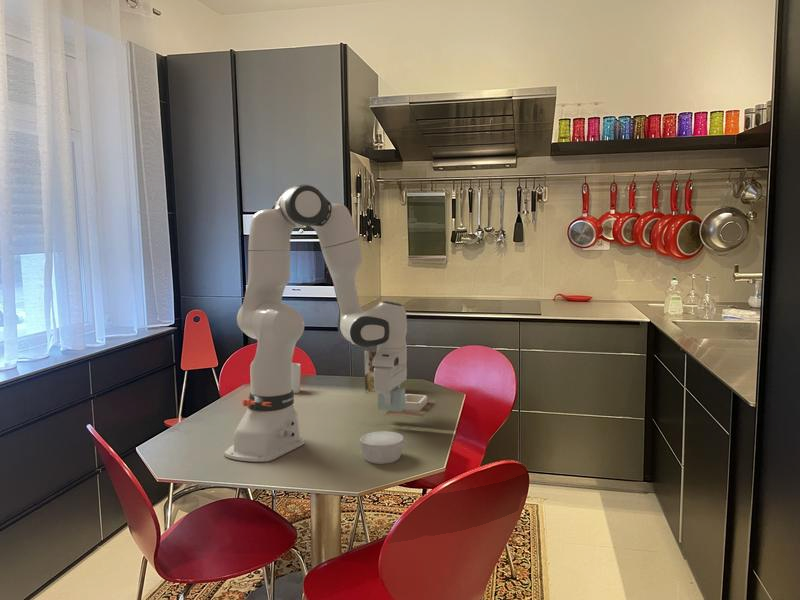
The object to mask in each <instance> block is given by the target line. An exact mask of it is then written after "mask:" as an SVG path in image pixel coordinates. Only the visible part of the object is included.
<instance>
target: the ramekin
mask: <svg viewBox="0 0 800 600" xmlns="http://www.w3.org/2000/svg"><path fill="white" fill-rule="evenodd" d="M404 442H405V438H404V436H403V435H402V434H400V433H399V432H394V431H386V430H384V431H371V432H368V433H365V434H363V435H362V436H361V437H360V438H359V444H360V447H361V452H362V456H363V458H364V460H365V461H366V462H368V463H370V464H375V465H377V464H379V465H385V464H391V463H395V462H396V461H398V460H399V459H400V458H401V456H402V450H403V445H404Z"/></svg>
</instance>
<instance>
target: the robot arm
mask: <svg viewBox="0 0 800 600" xmlns="http://www.w3.org/2000/svg"><path fill="white" fill-rule="evenodd" d="M296 227H301V228H303V227H311V228H312V229H313V230H314V232H315V233H316V235H317V237H318V240H319V241H318V242H319V245H320V249H321V252H322V256H323V258H324V262H325V264H326V267H327V269H328V272H329V275H330V277H331V279H332V284H333V288H334V292H335V298H336V301H337V305H338V319H337V332H338V335H339V336H340V337H341V338H342V339H343V340H344V341H346V342H348V343H351V344H353V345H355V346H357V347H360V348H370V347H371V348H372V347H374V346H376V348H377V351H376V355H375V357H374V358H373V360H372V365H373V366H375V368H374V388H375V391H376V393H375V394H377V395H378V394H383V395H384V398H385V404H386V405H390V404H391V403H392V398H391V390H393V389H394V388H395V387H397V388H401V384H402V383H403V382H405V381H407V377H408V370H407V369H408V367H407V360H408V359H407V358H408V357H407V355H408V353H407V352H408V351H407V350H408V348H407V347H408V345H407V342H406V339H407V338H406V337H407V332H408V324H407V323H408V320H407V313H406V309H405V306H404V305H402V304H401V303H398V302H394V301H390V300H388V301H387V300H382V301H379V303H378V304H377V305H375V306H374V307H372V308H371V309H369V310H366V311H364V310H363V308H361V305H360V301H359V297H358V292H357V287H356V279H355V278H356V274H357V271H358V269H360V267H361V265H362V263H363V252H362V245H361V244H362V243H361V240H360V237H359V233H358V230H357V227H356V223H355V221H354V219H353V217H352V215H351V213H350V211H349V209H348V207H347V206H346V205H344V204H341V203H331V202H330V200H328V199H327V198H326V196H325V195H324V194H323V193H322V192H321V191H320V190H319V189H317V188H316V187H314V186H312V185H311V184H310V185H309V184H299V185H298V184H297V185H293V186H291V187H288V188H287V189H285V190H284V191H283V192H281V194H279V196H278V197H277V199H276V201H275V203H274V204H273V206H272V207H271V208H267V209H261V210H259V211H257V212H255V213H254V214H253V216H252V218H251V222H250V228H249V235H248V246H247V247H248V250H247V251H248V254H247V255H248V261H247V262H248V266H247V267H248V272H247V274H248V275H247V276H248V277H247V284H246V289H245V292H244V298H243V301H242V305H241V307H240V308H239V309H238V312H237V315H236V324H237V326H238V328H239V330H241V331H242V333H244V334H245V335H246V336H247V337H250V338H252V339H254V340H257V347H256V351H255V356H254V359H253V360H252V361H251V363H250V365H249V369H250V371H249V374H250V392H249V395H248V398H243V399H242V403H241V404H242V405H241V406H243V407H247V410H246V412H245V413H244V415H243V416H242V418H241V420H240V421H239V424H238V426H237V427H236V428H235V429H234V433H233V444H232V445H230V446H229V447H228V448H227V449H226V450H225V451H224V457H226V458H227V459H231V460H236V461H243V462H255V463H259V462H262V463H263V462H269V461H273V460H275V459H277V458H279V457H281V456H284V455H286V454H287V453H289V452H291V451H293V450H295V449H297V448H299V447H301V446H303V445H305V440H304V438H303V437H301V430H300V420H299V413H298V412H297V411H296V409H295V407H294V403H295V400H294V398H295V393H294V394H293V390H292V373H291V366H292V363H293V362H292V361H293V355H294V351H295V348H296V345H297V342H298V341H299V340H300V339H301V337H302V335H303V333H304V331H305V322H304V317H303V315H302V314H301V313H300V312H299V311H298V310H297V309H295V308H294V307H292V306H290V305H288V304H284V303H282V298H283V295H284V292H285V288H286V287H287V285H289V282H290V279H291V237H292V233H293V230H294V229H295V228H296Z"/></svg>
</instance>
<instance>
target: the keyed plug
mask: <svg viewBox="0 0 800 600" xmlns="http://www.w3.org/2000/svg"><path fill="white" fill-rule="evenodd" d="M405 394H406V388H405V387H400V388H397V387H395V388H394V389H393V390H391V398H392V403H391V404H390V405H386V404H385V398H384V395H383V394H378V393H377V410H379V411H386V412H387V411H397V412H401V411H402V410H403V409H404V408H405Z"/></svg>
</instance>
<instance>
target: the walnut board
mask: <svg viewBox="0 0 800 600" xmlns="http://www.w3.org/2000/svg"><path fill="white" fill-rule="evenodd" d="M436 402H437V400H432V399H431V400H430V399H428V403H427V404H426V405H425V406H424V407H423V408H422V409H421V410H420V411H412V410H402V411H401V412H397V411H387V410H386V412H385V413H384V414H383V416H390V417H403V418H413V419H414V418H415V419H422V418H423V416H424V415H425V414H427V412H428V411H429V409H431V408H432V406H433V405H435V403H436Z"/></svg>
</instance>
